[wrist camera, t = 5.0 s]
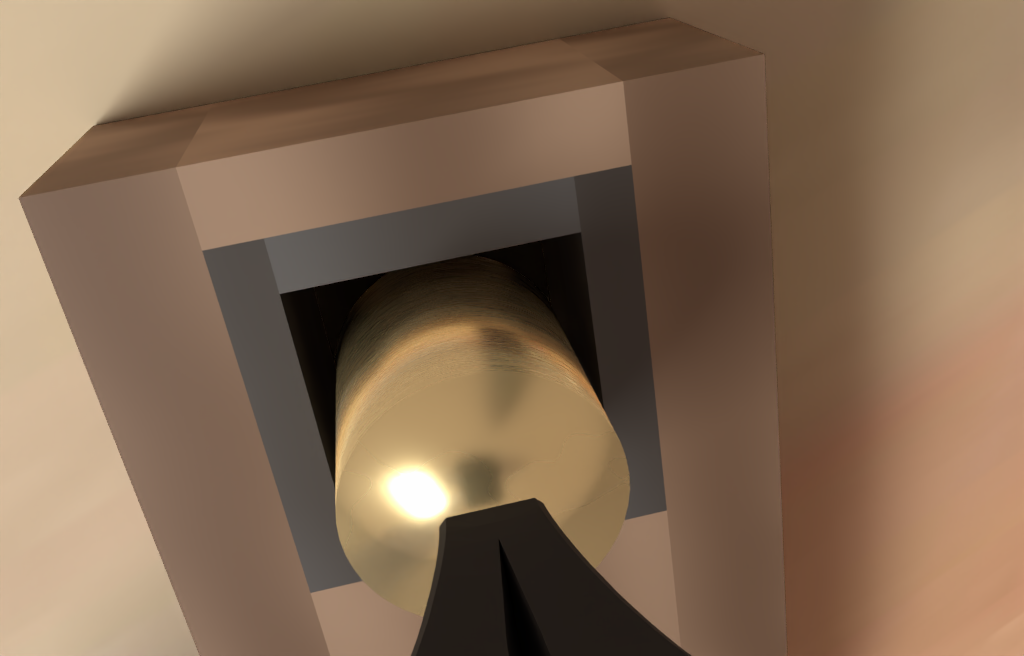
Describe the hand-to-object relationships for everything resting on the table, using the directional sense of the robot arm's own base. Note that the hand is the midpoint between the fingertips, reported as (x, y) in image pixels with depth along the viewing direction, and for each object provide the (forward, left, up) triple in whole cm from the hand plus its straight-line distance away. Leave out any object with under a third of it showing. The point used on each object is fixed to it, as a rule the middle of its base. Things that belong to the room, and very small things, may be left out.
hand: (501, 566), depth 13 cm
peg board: (0, -6, -10) cm, 12 cm away
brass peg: (0, 0, -6) cm, 6 cm away
